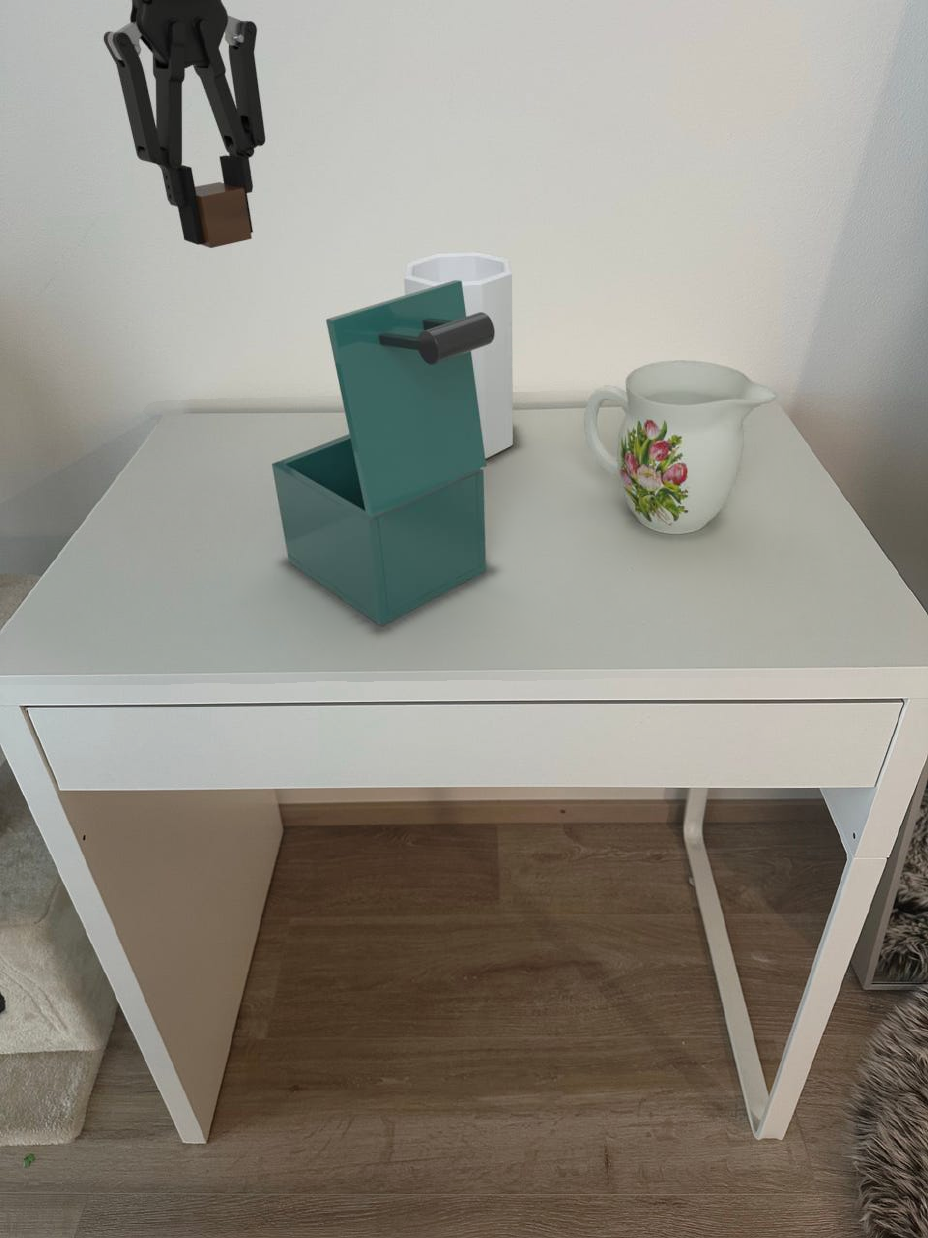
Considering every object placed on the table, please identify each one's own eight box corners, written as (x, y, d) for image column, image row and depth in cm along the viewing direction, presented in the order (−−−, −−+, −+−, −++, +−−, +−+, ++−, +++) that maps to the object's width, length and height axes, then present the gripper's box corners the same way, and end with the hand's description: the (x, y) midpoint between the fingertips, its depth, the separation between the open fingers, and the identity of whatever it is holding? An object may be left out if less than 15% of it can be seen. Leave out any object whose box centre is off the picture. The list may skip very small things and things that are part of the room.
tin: (288, 562, 84) (271, 463, 78) (390, 515, 90) (381, 420, 84) (381, 626, 76) (369, 521, 70) (486, 570, 82) (483, 469, 76)
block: (187, 240, 90) (177, 189, 87) (228, 230, 92) (219, 181, 90) (210, 248, 87) (201, 196, 85) (252, 238, 90) (244, 187, 87)
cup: (489, 411, 109) (485, 245, 98) (532, 449, 100) (534, 272, 89) (399, 430, 105) (385, 261, 94) (436, 471, 97) (425, 291, 86)
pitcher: (612, 465, 97) (620, 334, 88) (778, 516, 87) (804, 375, 79) (551, 509, 90) (554, 371, 82) (723, 569, 80) (746, 420, 72)
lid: (325, 319, 63) (392, 327, 57) (454, 279, 69) (526, 284, 64) (365, 515, 70) (428, 539, 65) (480, 463, 76) (546, 481, 71)
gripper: (81, -65, 69) (153, 262, 83) (281, -70, 78) (316, 224, 92) (41, -62, 74) (115, 247, 87) (235, -68, 83) (275, 213, 97)
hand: (218, 235), depth 90 cm, fingers closed on block, 4 cm apart
